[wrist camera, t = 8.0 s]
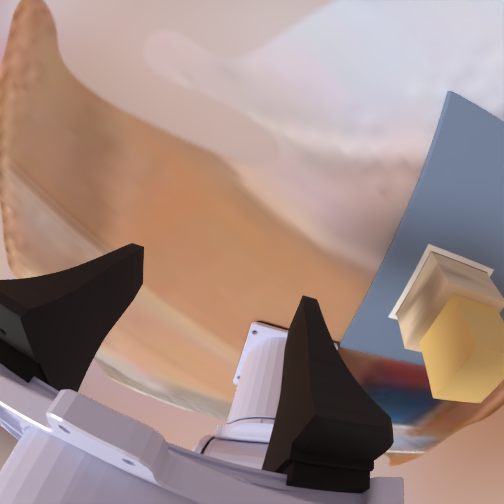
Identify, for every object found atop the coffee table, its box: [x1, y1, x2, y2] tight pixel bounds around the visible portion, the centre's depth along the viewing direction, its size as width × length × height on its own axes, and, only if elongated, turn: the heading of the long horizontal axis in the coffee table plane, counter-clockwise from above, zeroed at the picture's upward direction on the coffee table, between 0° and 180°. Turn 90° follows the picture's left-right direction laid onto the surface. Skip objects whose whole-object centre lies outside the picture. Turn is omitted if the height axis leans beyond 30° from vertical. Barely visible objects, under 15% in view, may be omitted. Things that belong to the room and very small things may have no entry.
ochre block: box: [419, 293, 504, 403], centre depth 16 cm, size 4×4×5 cm
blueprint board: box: [340, 91, 504, 366], centre depth 20 cm, size 22×16×1 cm
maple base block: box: [396, 252, 504, 352], centre depth 20 cm, size 6×6×4 cm
